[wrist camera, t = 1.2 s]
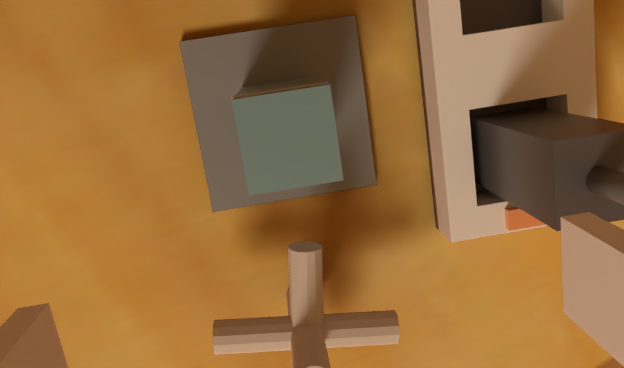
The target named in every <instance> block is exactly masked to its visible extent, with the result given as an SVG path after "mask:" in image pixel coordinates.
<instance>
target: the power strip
mask: <svg viewBox="0 0 624 368" xmlns="http://www.w3.org/2000/svg"><path fill="white" fill-rule="evenodd" d="M413 8H414V18H415V28H416V38H417V47H418V57H419V67H420V76H421V86H422V96H423V106H424V115H425V125H426V135H427V145H428V154H429V164H430V174H431V183H432V193H433V203H434V213H435V222H436V228H437V229H438V230H439V231H440V232H441V233H442V234H443V235H444V236H445V237H446V238H447V239H448V240H449V241H450V242H457V241H463V240H469V239H474V238H480V237H486V236H492V235H498V234H504V233H509V232H515V231H521V230H527V229H533V228H539V227H545V226H548V225H546V224H544V223H543V222H541V221H539V220H538V219H536V218H534V217H533V216H531V215H529V214H528V213H526V212H524V211H523V210H521V209H519V208H518V207H516V206H514V205H512V204H511V203H509V202H507V201H506V200H504V199H502V198H501V197H499V196H497V195H496V194H494V193H492V192H491V191H489V190H487V189H486V188H484V187H482V186H481V185H479V184H477V183H476V182H475V175H474V163H473V152H472V140H471V128H470V117H474V116H480V115H487V114H493V113H499V112H505V111H511V110H518V109H524V108H530V107H537V108H543V109H548V110H554V111H559V112H564V113H570V114H575V115H581V116H586V117H592V118H597V90H596V58H595V26H594V0H413Z"/></svg>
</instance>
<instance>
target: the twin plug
mask: <svg viewBox="0 0 624 368" xmlns="http://www.w3.org/2000/svg"><path fill="white" fill-rule="evenodd" d="M470 128H471V140H472V152H473V163H474V175H475V182H476V183H477V184H479V185H481V186H482V187H484V188H486V189H487V190H489V191H491V192H492V193H494V194H496V195H497V196H499V197H501V198H502V199H504V200H506V201H507V202H509V203H511V204H512V205H514V206H516V207H518V208H519V209H521V210H523V211H524V212H526V213H528V214H529V215H531V216H533V217H534V218H536V219H538V220H539V221H541V222H543V223H544V224H546V225H548V226H549V227H551V228H553V229H555V230H556V231H560V230H561V217H562V216H568V215H574V214H580V213H586V212H590V213H592V214H594V215H596V216H598V217H600V218H602V219H604V220H605V221H607V222H612V221H618V220H624V123H619V122H614V121H608V120H603V119H597V118H592V117H586V116H581V115H575V114H570V113H564V112H559V111H554V110H548V109H543V108H537V107H530V108H524V109H518V110H511V111H505V112H499V113H493V114H487V115H480V116H474V117H470Z"/></svg>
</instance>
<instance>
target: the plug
mask: <svg viewBox="0 0 624 368" xmlns="http://www.w3.org/2000/svg"><path fill="white" fill-rule="evenodd" d="M232 106H233V111H234V117H235V122H236V128H237V133H238V139H239V144H240V150H241V155H242V161H243V166H244V172H245V177H246V183H247V188H248V194H249V196H252V195H258V194H264V193H270V192H276V191H282V190H288V189H294V188H300V187H306V186H312V185H318V184H325V183H331V182H337V181H343V180H344V179H343V172H342V165H341V158H340V151H339V144H338V137H337V129H336V122H335V115H334V108H333V101H332V94H331V87H330V84H329V82H327V81H325V82H323V81H321V80H318V79H316V78H313V77H311V76H310V77H304V78H298V79H291V80H285V81H278V82H272V83H265V84H259V85H253V86H246V87H242V88H241V89H240V90H239V91H238V93H237V94H236V95H235V96H232Z"/></svg>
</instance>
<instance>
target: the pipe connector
mask: <svg viewBox="0 0 624 368" xmlns="http://www.w3.org/2000/svg"><path fill="white" fill-rule="evenodd" d="M288 258H289V288H288V291H287V306H288V316H280V317H262V318H243V319H225V320H214V324H213V348H214V354H215V355H216V354H233V353H250V352H267V351H284V350H291V356H292V368H330V363H329V358H328V353H327V349H326V348H335V347H352V346H369V345H386V344H398V342H399V323H398V317H397V314H396V312H395V311H394V310H390V311H372V312H354V313H335V314H324V312H323V251H322V245H321V244H320V243H317V242H313V241H301V242H295V243H293V244H290V245H289V247H288Z"/></svg>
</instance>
